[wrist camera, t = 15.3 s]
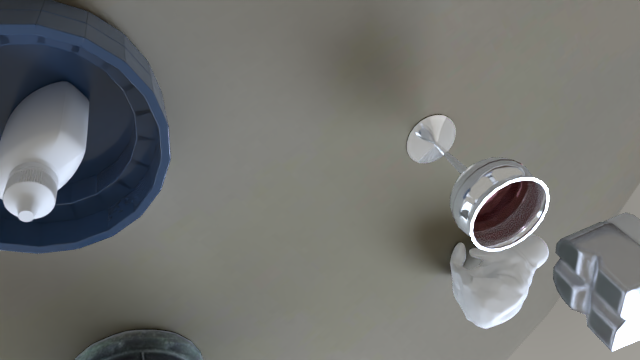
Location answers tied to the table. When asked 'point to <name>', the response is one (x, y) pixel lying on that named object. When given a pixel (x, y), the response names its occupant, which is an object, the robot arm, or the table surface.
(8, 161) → the eye dropper bottle
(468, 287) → the white lumpy figure
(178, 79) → the table surface
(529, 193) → the wineglass
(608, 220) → the robot arm
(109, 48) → the blue bowl
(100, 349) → the decorative bowl
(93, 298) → the table surface
